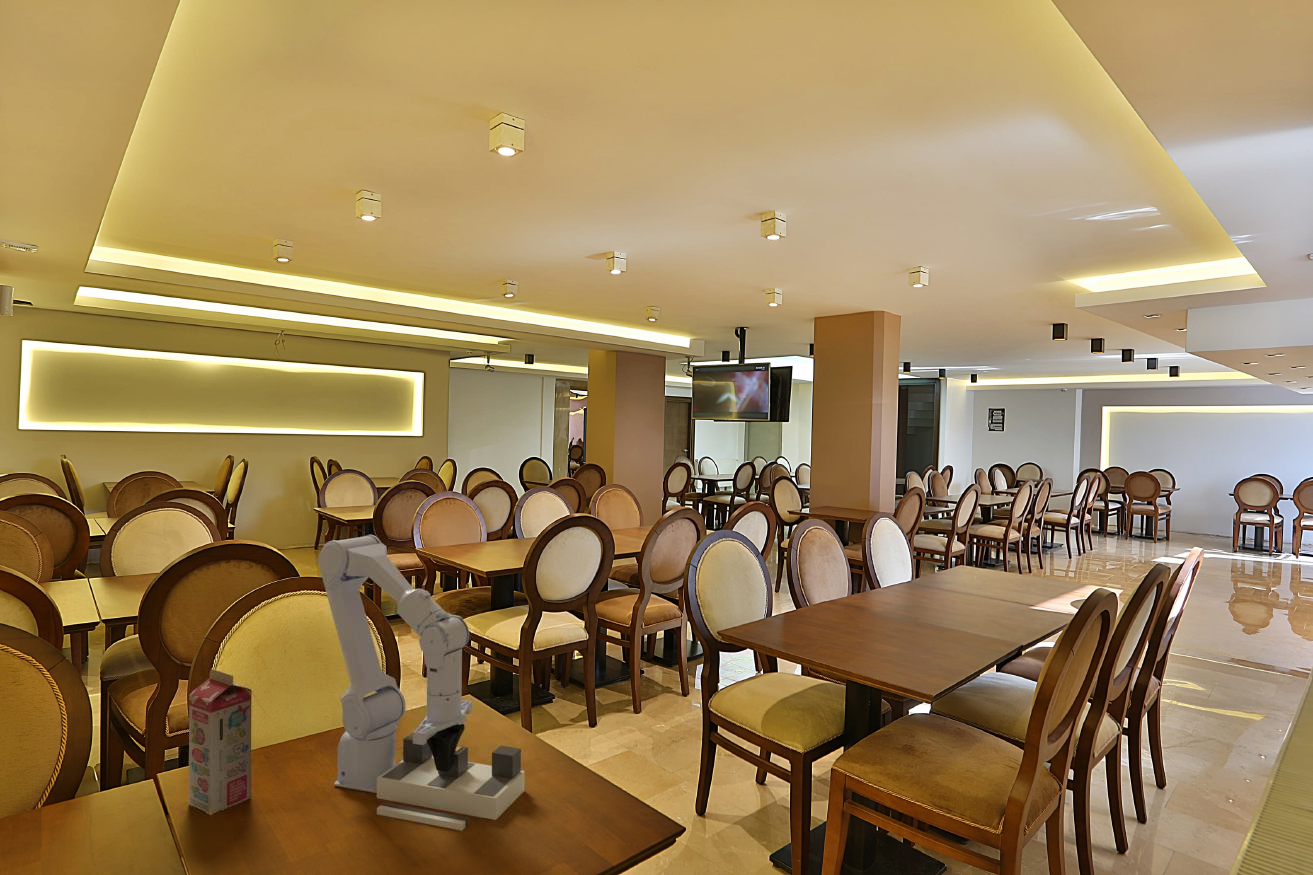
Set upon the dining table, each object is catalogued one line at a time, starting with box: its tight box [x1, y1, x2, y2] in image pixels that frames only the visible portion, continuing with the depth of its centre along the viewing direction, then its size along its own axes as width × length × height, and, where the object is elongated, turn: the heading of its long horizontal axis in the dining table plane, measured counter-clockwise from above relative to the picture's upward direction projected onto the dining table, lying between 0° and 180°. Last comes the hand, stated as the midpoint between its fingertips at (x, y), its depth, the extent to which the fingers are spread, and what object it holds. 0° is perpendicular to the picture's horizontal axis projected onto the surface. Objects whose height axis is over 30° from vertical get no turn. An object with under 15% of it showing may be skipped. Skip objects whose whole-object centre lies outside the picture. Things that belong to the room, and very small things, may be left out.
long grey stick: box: [376, 802, 469, 831], centre depth 116 cm, size 16×2×1 cm, turn 73°
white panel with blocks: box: [376, 732, 526, 821], centre depth 124 cm, size 23×10×8 cm, turn 73°
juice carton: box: [188, 668, 253, 814], centre depth 121 cm, size 7×7×22 cm
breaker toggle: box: [438, 745, 469, 778], centre depth 124 cm, size 4×3×4 cm
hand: (443, 769), depth 122 cm, fingers closed
